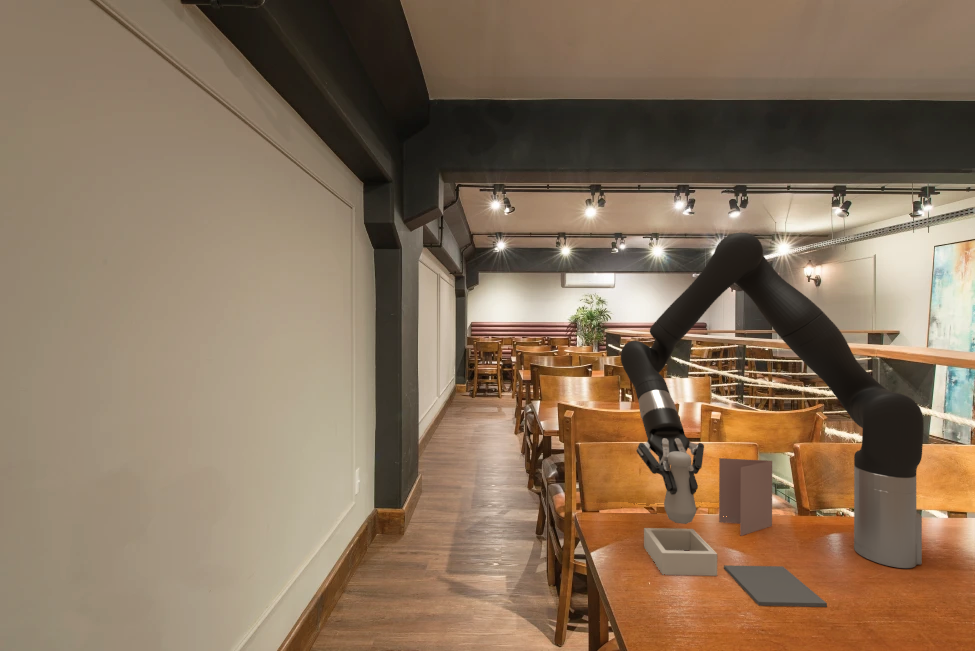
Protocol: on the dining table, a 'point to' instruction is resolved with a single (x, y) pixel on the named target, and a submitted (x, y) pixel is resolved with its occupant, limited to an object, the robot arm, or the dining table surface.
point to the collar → (680, 552)
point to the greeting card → (745, 493)
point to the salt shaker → (680, 490)
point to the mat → (774, 586)
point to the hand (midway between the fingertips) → (683, 492)
